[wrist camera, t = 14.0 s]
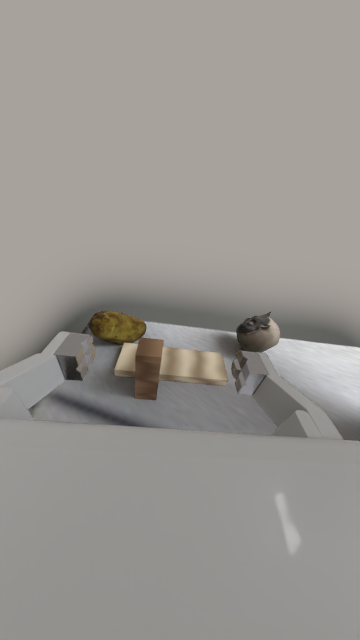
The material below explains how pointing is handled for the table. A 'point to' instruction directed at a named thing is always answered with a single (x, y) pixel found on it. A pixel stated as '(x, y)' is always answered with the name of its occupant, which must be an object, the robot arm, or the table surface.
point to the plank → (178, 365)
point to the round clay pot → (257, 334)
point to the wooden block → (147, 368)
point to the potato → (116, 327)
